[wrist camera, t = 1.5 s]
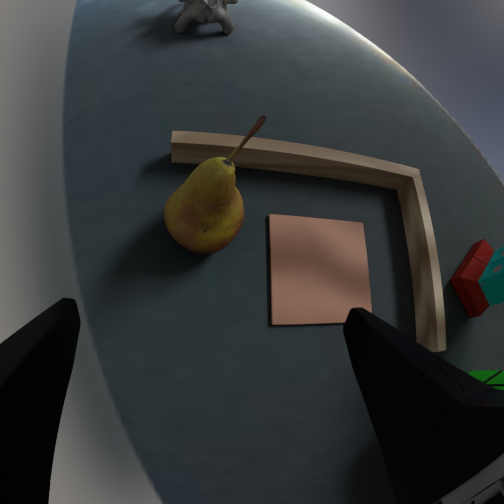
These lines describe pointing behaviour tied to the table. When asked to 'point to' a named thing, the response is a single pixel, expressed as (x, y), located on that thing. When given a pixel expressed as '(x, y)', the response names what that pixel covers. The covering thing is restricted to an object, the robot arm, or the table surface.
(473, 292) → the toy robot
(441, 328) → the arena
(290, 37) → the table surface
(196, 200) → the fruit
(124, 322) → the table surface
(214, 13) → the elephant statuette
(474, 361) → the table surface
